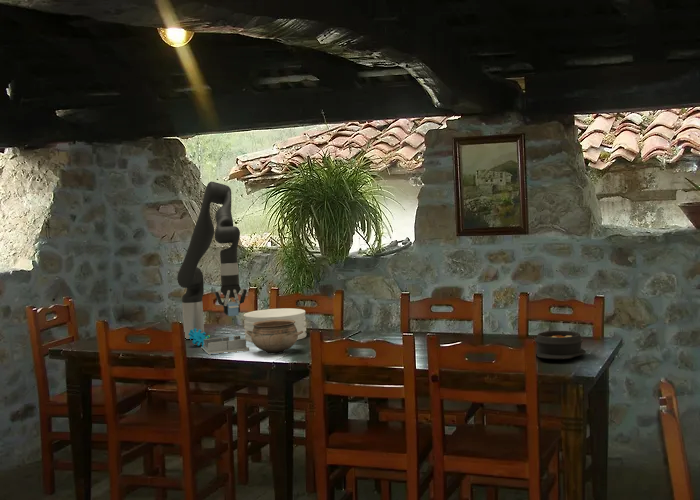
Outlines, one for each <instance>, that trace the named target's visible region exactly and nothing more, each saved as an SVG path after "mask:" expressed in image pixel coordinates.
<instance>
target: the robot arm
mask: <svg viewBox="0 0 700 500" xmlns="http://www.w3.org/2000/svg"><path fill="white" fill-rule="evenodd" d="M211 204H216V205H221V206H220V207H219V208H218V209H217V211H216V212H215V223H216V228H215V227H214V223H213V220H212V217H211V211H210V210H211ZM232 215H233V214H232V188H231V187H230V186H229V185H226V184H223V183H219V182H217V181H208V183H207V185H206V187H205V189H204V195H203V198H202V203H201V207H200V211H199V214H198V217H197V221H196V223H195V225H194V229H193V231H192V235H191V238H190V242H189V244H188V247H187V251H186V254H185V255H184V259H183V261H182V264H181V266H180V268H179V271H178V274H177V278H176V279H177V284H178V285H179V287H181V288H182V289H186V291H185V293H184V294H183V295H182V297H181V303H182V320H183V333H184V332H185V338H186V339H189V337H190V336H189V335H188V334H189V332H190V330H193V332H194V328H195V329H197V330H196V332H198V330H199V329H200V330H202V331H201V332H200V333H203V332H205V323H204V309H203V308H204V306H203V296H204V293H205V291H204V283H205V282H204V275H203V274H204V273H203V271H202V269H200V267H198V266H199V263H200V260H201V259H202V258H203V257H204V255H205V254H206V252H208V249H209V248H210V246H211V244H212V242H213V238H214V239H215V241H216V242H217V243H218V244H231V245H230V247H227V248H223V249H221V250H220V253H219V257H220V283H221V284H220V285H221V287H220V289H219V290H216V291H214V295H215V297H216V300H217V303H218V304H219V306H222V307H223V313H224V314H225V316H228V307H227V302H229V299H231V298H233V300H234V302H236V303H238V306H239V307H238V312H239V313H241V304H244V302H245V299H246V295H247V291H248V290H247V289H246V288H242V287H241V286H240V275H239V274H240V271H239V265H238V245H239V242H240V237H241V230H240V229H239V227H238V226H235V225H234V220H233V216H232ZM239 293H241V294H240V299H239V296H238V295H239ZM221 294H222V295H223V296H224V297H223V301H222V299H221ZM192 335H193V334H192ZM186 339H185V340H186Z"/></svg>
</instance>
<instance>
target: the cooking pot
mask: <svg viewBox="0 0 700 500" xmlns="http://www.w3.org/2000/svg"><path fill="white" fill-rule="evenodd" d="M294 323H295V321H294V320H286V319H279V320H266V321H259V322H255V323H253V326H254V328H253V331H249V330H248V331H247V332H246V333H247V334H248V335H249V336H251V338H252V342H251V343H253V345H254V346H255V347H256V348H258V349H259V350H261V351H262V352H265V353H267V354H269V355H271V354H272V355H278V354H282V353H284V352H286V351H287V350H289V349H290V348H292V347H293V346H294V345H295V344H296V343H297V338H298V335H300V334H302V333H303V331H300V332H297V329H296V327H295V325H294Z"/></svg>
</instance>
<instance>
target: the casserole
mask: <svg viewBox="0 0 700 500" xmlns="http://www.w3.org/2000/svg"><path fill="white" fill-rule="evenodd" d="M534 342H536V345H537V348H536V349H537V355H536V357H538V358H539V359H548V360H562V361H563V360H564V361H565V360H571V359H574V358H575V359H576V358H577V357H579V356H583V355H584V354H586V353H587V351H586V350H585V349H584V348H582V347H581V345H582V343H583V342H584V339H583V338H582V336H581V334H580V333H579V332H576V331H572V330H571V331H570V330H569V331H568V330H550V331H548V330H547V331H542V332H538V333H537V334H536V337H535V339H534Z"/></svg>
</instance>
